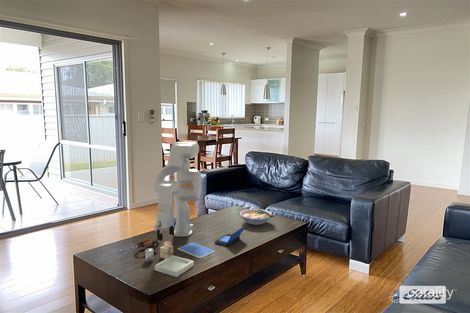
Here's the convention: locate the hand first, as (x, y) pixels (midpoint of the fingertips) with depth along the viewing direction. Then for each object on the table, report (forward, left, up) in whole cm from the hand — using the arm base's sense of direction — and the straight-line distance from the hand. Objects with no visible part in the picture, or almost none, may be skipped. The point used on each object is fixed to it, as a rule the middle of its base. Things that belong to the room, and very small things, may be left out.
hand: (165, 237), depth 181 cm
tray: (+7, +12, -11) cm, 18 cm away
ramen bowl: (-75, +19, -12) cm, 78 cm away
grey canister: (+7, -5, -12) cm, 15 cm away
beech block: (-1, 0, -12) cm, 12 cm away
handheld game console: (-37, +19, -12) cm, 43 cm away
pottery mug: (-1, -14, -12) cm, 18 cm away
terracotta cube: (-9, -6, -12) cm, 16 cm away
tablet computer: (-16, +9, -12) cm, 22 cm away
